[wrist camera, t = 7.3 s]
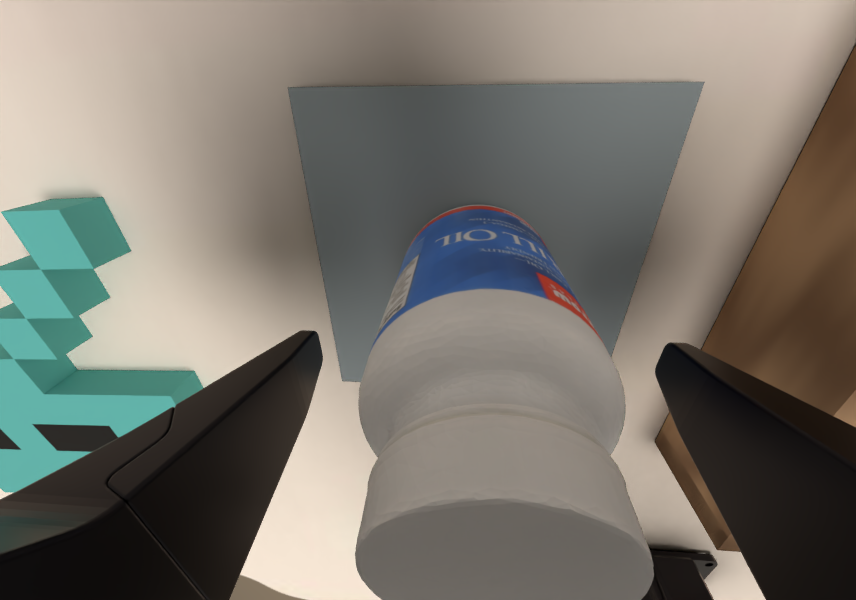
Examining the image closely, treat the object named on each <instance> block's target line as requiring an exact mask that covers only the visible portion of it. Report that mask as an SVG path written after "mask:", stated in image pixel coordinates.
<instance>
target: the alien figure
mask: <svg viewBox="0 0 856 600" xmlns="http://www.w3.org/2000/svg"><path fill="white" fill-rule="evenodd" d="M1 213H2V214H3V216H4V217H5V219H6V220H7V222H8V223H9V224H10V226H11V227H12V229H13V230H14V232H15V233H16V235H17V236H18V238H19V239H20V240H21V242H22V243H23V245H24V246H25V248H26V249H27V251H28V252H29V253H30V256H27V257H24V258H22V259H19V260H16V261H14V262H11V263H8V264H5V265H3V266H0V286H1V287H2V288H3V290H4V291H5V292H6V293H7V295H8V296H9V297H10V299H11V300H12V301H13V302H14V303H12V304H10V305H8V306H6V307H3V308H1V309H0V488H1V489H2V490H3V491H4V492H16V491H18V490H20V489H22V488H24V487H26V486H28V485H30V484H32V483H34V482H36V481H37V480H39V479H41V478H43V477H45V476H47V475H49V474H51V473H53V472H55V471H56V470H58V469H60V468H62V467H64V466H66V465H68V464H70V463H72V462H74V461H76V460H77V459H79V458H81V457H83V456H85V455H87V454H89V453H91V452H93V451H95V450H96V449H98V448H100V447H102V446H104V445H106V444H108V443H109V442H111V441H113V440H115V439H117V438H119V437H121V436H123V435H124V434H126V433H128V432H130V431H132V430H133V429H135V428H137V427H139V426H140V425H142V424H144V423H145V422H147V421H149V420H151V419H152V418H154V417H156V416H158V415H159V414H161V413H163V412H164V411H166V410H168V409H169V408H171V407H174V408H175V405H176V404H178V403H180V402H181V401H183V400H185V399H186V398H188V397H190V396H191V395H193V394H195V393H196V392H198V391H200V390H201V389H203V386H202V385H201V383H200V381H199V379H198V377H197V375H196V373H195V371H137V370H77V369H76V367H75V366H74V365H73V363H72V362H71V361H70V359H69V358H68V357H67V355H66V354H67V353H68V352H70V351H71V350H73V349H74V348H76V347H77V346H79V345H80V344H82V343H83V342H85V341H86V340H88V339H90V338H91V337H93V336H92V335H91V333H90V332H89V330H88V329H87V327H86V326H85V324H84V323H83V322H82V320H81V319H80V317H79V315H81V314H82V313H84V312H86V311H88V310H89V309H91V308H93V307H94V306H96V305H98V304H100V303H101V302H103V301H105V300H107V299H108V298H110V296H109V294H108V293H107V291H106V289H105V288H104V286H103V284H102V283H101V281H100V279H99V278H98V276H97V274H96V273H95V271H94V268H96V267H99V266H101V265H103V264H105V263H107V262H109V261H111V260H113V259H115V258H117V257H120V256H122V255H124V254H126V253H128V252H130V251H131V250H130V248H129V246H128V244H127V242H126V240H125V238H124V236H123V234H122V232H121V231H120V229H119V227H118V225H117V223H116V221H115V219H114V217H113V215H112V213H111V211H110V210H109V208H108V206H107V204H106V202H105V200H104V198H103V197H97V198H71V199H50V200H46V201H42V202H38V203H34V204H30V205H26V206H22V207H18V208H14V209H10V210H6V211H3V212H1Z"/></svg>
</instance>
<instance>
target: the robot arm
mask: <svg viewBox="0 0 856 600" xmlns="http://www.w3.org/2000/svg"><path fill="white" fill-rule="evenodd" d="M322 361H323V355H322V350H321V345H320V341H319V336H318V334H317V332H315V331H305V330H302V331H299V332H298V333H296V334H294V335H292V336H291V337H289V338H287V339H286V340H284V341H282V342H281V343H279V344H277V345H276V346H274V347H272V348H271V349H269V350H267V351H266V352H264V353H262V354H260V355H259V356H257V357H255V358H254V359H252V360H250V361H249V362H247V363H245V364H244V365H242V366H240V367H239V368H237V369H235V370H233V371H232V372H230V373H228V374H227V375H225V376H223V377H222V378H220V379H218V380H217V381H215V382H213V383H212V384H210V385H208V386H207V387H205V388H203V389H201V390H200V391H198V392H196V393H195V394H193V395H191V396H190V397H188V398H186V399H185V400H183V401H181V402H180V403H178V404H176V405H175V408H174V407H171V408H169V409H168V410H166V411H164V412H163V413H161V414H159V415H158V416H156V417H154V418H152V419H151V420H149V421H147V422H145V423H144V424H142V425H140V426H139V427H137V428H135V429H133V430H132V431H130V432H128V433H126V434H124V435H123V436H121V437H119V438H117V439H115V440H113V441H111V442H109V443H108V444H106V445H104V446H102V447H100V448H98V449H96V450H95V451H93V452H91V453H89V454H87V455H85V456H83V457H81V458H79V459H77V460H76V461H74V462H72V463H70V464H68V465H66V466H64V467H62V468H60V469H58V470H56V471H55V472H53V473H51V474H49V475H47V476H45V477H43V478H41V479H39V480H37V481H36V482H34V483H32V484H30V485H28V486H26V487H24V488H22V489H20V490H18V491H16V492H15V493H12V494H10V495H8V496H6V497H4V498H2V499H0V600H229V599H230V597H231V594H232V592H233V589H234V587H235V585H236V582H237V580H238V578H239V575H240V573H241V570H242V568H243V566H244V563H245V561H246V559H247V556H248V554H249V551H250V549H251V547H252V544H253V542H254V540H255V537H256V535H257V532H258V530H259V528H260V525H261V523H262V521H263V518H264V516H265V513H266V511H267V509H268V506H269V504H270V502H271V499H272V497H273V494H274V492H275V490H276V487H277V485H278V482H279V480H280V478H281V475H282V473H283V471H284V468H285V466H286V463H287V461H288V459H289V456H290V454H291V452H292V449H293V447H294V444H295V442H296V440H297V437H298V435H299V433H300V430H301V428H302V425H303V423H304V421H305V418H306V415H307V413H308V410H309V407H310V403H311V400H312V397H313V393H314V390H315V386H316V383H317V379H318V376H319V372H320V369H321V366H322ZM655 374H656V378H657V381H658V383H659V386H660V388H661V391H662V393H663V396H664V398H665V401H666V403H667V406H668V408H669V411H670V413H671V416H672V418H673V421H674V423H675V426H676V428H677V430H678V432H679V434H680V437H681V439H682V441H683V443H684V444H685V446H686V448H687V450H688V452H689V454H690V456H691V458H692V460H693V462H694V463H695V465H696V467H697V469H698V471H699V473H700V475H701V477H702V479H703V481H704V483H705V484H706V486H707V488H708V490H709V492H710V494H711V496H712V498H713V500H714V502H715V504H716V505H717V507H718V509H719V511H720V513H721V515H722V517H723V519H724V521H725V523H726V524H727V526H728V528H729V530H730V532H731V534H732V536H733V538H734V540H735V542H736V544H737V545H738V547H739V549H740V551H741V553H742V555H743V557H744V559H745V561H746V563H747V565H748V566H749V568H750V570H751V572H752V574H753V576H754V578H755V580H756V582H757V584H758V585H759V587H760V589H761V591H762V593H763V595H764V597H765V599H766V600H856V427H854V426H852V425H850V424H848V423H846V422H844V421H842V420H840V419H838V418H836V417H834V416H832V415H830V414H828V413H826V412H824V411H822V410H820V409H818V408H816V407H814V406H812V405H810V404H808V403H806V402H804V401H802V400H800V399H798V398H796V397H794V396H792V395H790V394H788V393H786V392H784V391H782V390H780V389H778V388H776V387H774V386H772V385H770V384H768V383H766V382H764V381H762V380H760V379H758V378H756V377H754V376H752V375H750V374H748V373H746V372H744V371H742V370H740V369H738V368H736V367H734V366H732V365H730V364H728V363H726V362H724V361H722V360H720V359H718V358H716V357H714V356H712V355H710V354H708V353H706V352H704V351H702V350H700V349H698V348H696V347H694V346H692V345H690V344H687V343H668V344H667V345H666V346H665V347H664V349H663V352H662V354H661V356H660V359H659V361H658V363H657V366H656V369H655ZM650 552H651V556H652V561H653V569H654V578H653V581H652V584H651V586H650V588H649V590H648V592H647V593H646V595H645V596H644V597H643V598H642V599H641V600H714V599H713V597H712V595H711V593H710V591H709V589H708V587H707V585H706V583H705V581H704V579H705V578H706V577H707V576H708V575H709V574H710V573H711V571H712V570H713V569H714V568H715V567H716V566H717V562H716V560H715V558H714V557H713V555H710V554H697V553H683V552H669V551H655V550H650Z"/></svg>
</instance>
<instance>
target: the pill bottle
mask: <svg viewBox="0 0 856 600" xmlns="http://www.w3.org/2000/svg"><path fill="white" fill-rule="evenodd" d="M359 414H360V421H361V425H362V428H363V431H364V434H365V437H366V439H367V441H368V443H369V445H370V447H371V448H372V450H373V451H374V453H375V454H376V456H377V457H378V459H377V461H376V463H375V465H374V466H373V468H372V471H371V474H370V477H369V481H368V491H367V496H366V501H365V506H364V511H363V516H362V521H361V526H360V530H359V534H358V538H357V544H356V552H355V558H356V567H357V570H358V573H359V575H360V577H361V579H362V580H363V581H364V582H365V584H366V585H367V586H368V587H369V589H370V590H371V591H373V592H374V593H375V594H376V595H377V596H378V597H379V598H381V599H382V600H641V599H642V598H643V597H644V596H645V595H646V593H647V592H648V590H649V588H650V586H651V584H652V581H653V578H654V569H653V561H652V556H651V552H650V549H649V547H648V544H647V542H646V539H645V537H644V534H643V531H642V529H641V526H640V524H639V521H638V519H637V516H636V513H635V511H634V508H633V506H632V503H631V501H630V498H629V496H628V493H627V490H626V484H625V480H624V478H623V476H622V474H621V472H620V470H619V468H618V466H617V464H616V463H615V462H614V460H613V459H612V458H611V456H610V455H611V453H612V452H613V450H614V448H615V446H616V444H617V443H618V440H619V437H620V434H621V432H622V429H623V424H624V419H625V395H624V389H623V385H622V382H621V379H620V375H619V373H618V371H617V369H616V366H615V364H614V362H613V360H612V358H611V357H610V355H609V353H608V351H607V349H606V347H605V345H604V343H603V341H602V340H601V338H600V336H599V335H598V332H597V331H596V330H595V329H594V326H593V324H592V323H591V321H590V319H589V318H588V316H587V314H586V313H585V311H584V310H583V308H582V306H581V305H580V303H579V301H578V299H577V298H576V296H575V294H574V293H573V291H572V289H571V288H570V286H569V284H568V283H567V281H566V279H565V277H564V276H563V274H562V272H561V271H560V269H559V267H558V266H557V264H556V262H555V260H554V258H553V257H552V255H551V253H550V251H549V250H548V248H547V246H546V245H545V243H544V241H543V240H542V238H541V237H540V235H539V234H538V233H537V232H536V231H535V230H534V229H533V227H532V226H531V225H530V224H528V223H527V222H526V221H525V220H524V219H522V218H521V217H519V216H518V215H516V214H514V213H512V212H510V211H508V210H505V209H502V208H499V207H495V206H490V205H467V206H462V207H457V208H454V209H451V210H449V211H447V212H444V213H442V214H440V215H439V216H437V217H435V218H434V219H432V220H431V221H430V222H429V223H427V224H426V225H425V226H424V227H423V228H422V229H421V230H420V231H419V233H418V234H417V235H416V236H415V238H414V239H413V241H412V242H411V244H410V246H409V248H408V250H407V252H406V254H405V257H404V260H403V263H402V266H401V269H400V271H399V274H398V277H397V280H396V283H395V285H394V288H393V291H392V294H391V297H390V299H389V302H388V305H387V307H386V310H385V313H384V315H383V318H382V321H381V324H380V327H379V329H378V332H377V335H376V337H375V340H374V343H373V346H372V348H371V351H370V354H369V357H368V361H367V364H366V367H365V370H364V374H363V377H362V380H361V385H360V390H359Z"/></svg>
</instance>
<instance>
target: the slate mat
mask: <svg viewBox="0 0 856 600" xmlns="http://www.w3.org/2000/svg"><path fill="white" fill-rule="evenodd" d="M703 85H704V82H650V83H576V84H503V85H429V86H355V87H288V92H289V97H290V102H291V108H292V113H293V119H294V124H295V129H296V135H297V140H298V145H299V151H300V156H301V162H302V167H303V172H304V178H305V183H306V188H307V194H308V199H309V205H310V210H311V215H312V221H313V226H314V231H315V237H316V242H317V248H318V253H319V258H320V264H321V269H322V275H323V280H324V285H325V291H326V296H327V301H328V307H329V312H330V318H331V323H332V328H333V334H334V339H335V344H336V350H337V355H338V361H339V366H340V371H341V377H342V381H352V382H361V380H362V377H363V374H364V370H365V367H366V364H367V361H368V357H369V354H370V351H371V348H372V346H373V343H374V340H375V337H376V335H377V332H378V329H379V327H380V324H381V321H382V318H383V315H384V313H385V310H386V307H387V305H388V302H389V299H390V297H391V294H392V291H393V288H394V285H395V283H396V280H397V277H398V274H399V271H400V269H401V266H402V263H403V260H404V257H405V254H406V252H407V250H408V248H409V246H410V244H411V242H412V241H413V239H414V238H415V236H416V235H417V234H418V233H419V231H420V230H421V229H422V228H423V227H424V226H425V225H426V224H427V223H429V222H430V221H431V220H432V219H434V218H435V217H437V216H439V215H440V214H442V213H444V212H447V211H449V210H451V209H454V208H457V207H462V206H467V205H490V206H495V207H499V208H502V209H505V210H508V211H510V212H512V213H514V214H516V215H518V216H519V217H521V218H522V219H524V220H525V221H526V222H527V223H528V224H530V225H531V226H532V227H533V229H534V230H535V231H536V232H537V233H538V234H539V235H540V237H541V238H542V240H543V241H544V243H545V245H546V246H547V248H548V250H549V251H550V253H551V255H552V257H553V258H554V260H555V262H556V264H557V266H558V267H559V269H560V271H561V272H562V274H563V276H564V277H565V279H566V281H567V283H568V284H569V286H570V288H571V289H572V291H573V293H574V294H575V296H576V298H577V299H578V301H579V303H580V305H581V306H582V308H583V310H584V311H585V313H586V314H587V316H588V318H589V319H590V321H591V323H592V324H593V326H594V329H595V330H596V331H597V332H598V335H599V336H600V338H601V340H602V341H603V343H604V345H605V347H606V349H607V351H608V353H609V355H610V357H611V356H612V353H613V350H614V347H615V344H616V341H617V338H618V335H619V332H620V329H621V326H622V323H623V320H624V317H625V314H626V312H627V309H628V306H629V303H630V300H631V297H632V294H633V291H634V288H635V285H636V282H637V279H638V276H639V273H640V270H641V267H642V264H643V261H644V259H645V256H646V253H647V250H648V247H649V244H650V241H651V238H652V235H653V232H654V229H655V226H656V223H657V220H658V217H659V214H660V211H661V208H662V206H663V203H664V200H665V197H666V194H667V191H668V188H669V185H670V182H671V179H672V176H673V173H674V170H675V167H676V164H677V161H678V158H679V155H680V153H681V150H682V147H683V144H684V141H685V138H686V135H687V132H688V129H689V126H690V123H691V120H692V117H693V114H694V111H695V108H696V105H697V102H698V100H699V97H700V94H701V91H702V88H703Z"/></svg>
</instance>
